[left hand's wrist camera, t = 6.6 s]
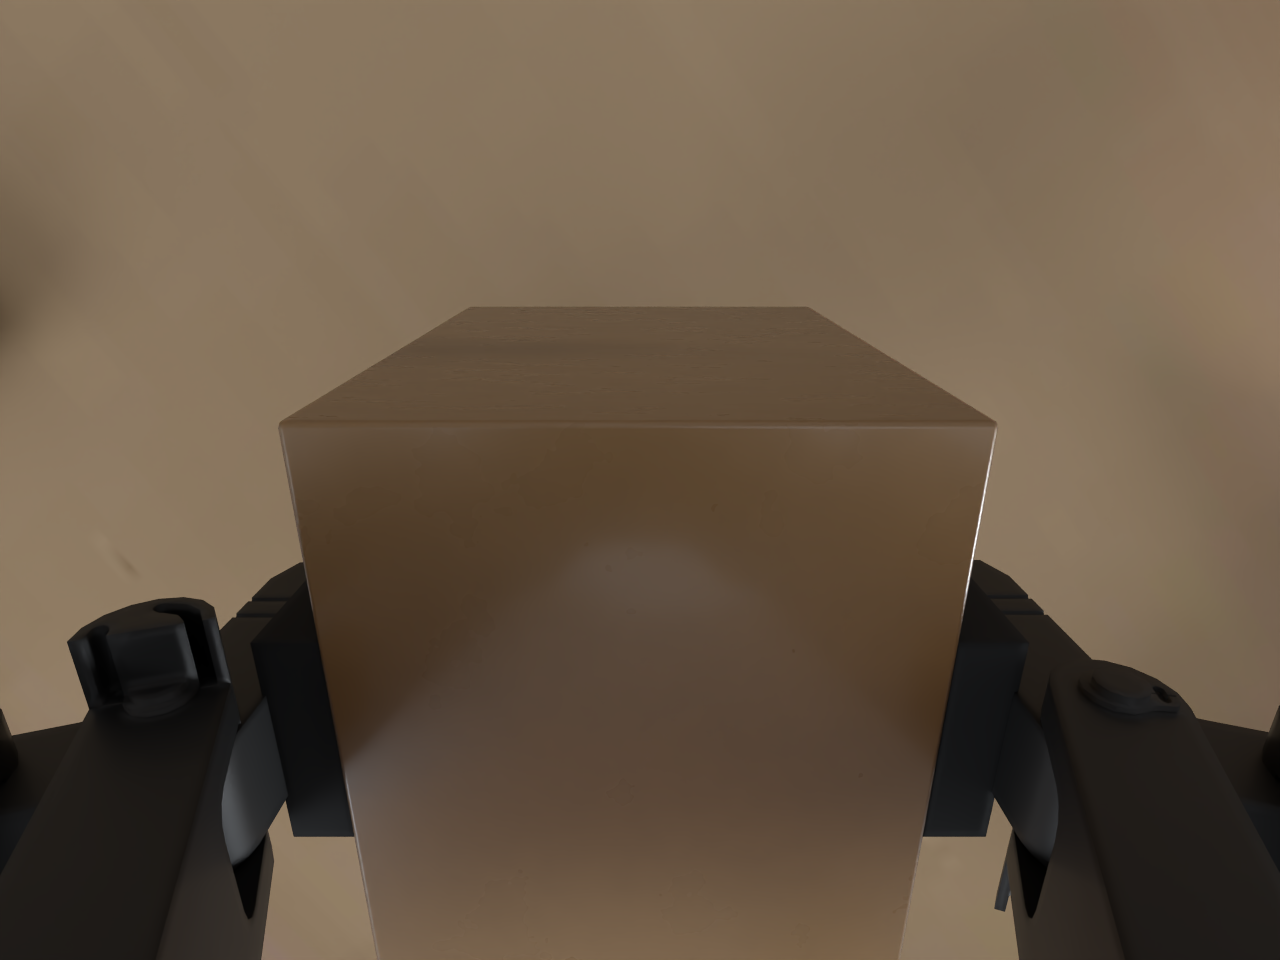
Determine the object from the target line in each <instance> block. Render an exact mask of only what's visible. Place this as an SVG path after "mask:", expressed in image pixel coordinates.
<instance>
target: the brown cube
mask: <svg viewBox="0 0 1280 960" xmlns="http://www.w3.org/2000/svg"><path fill="white" fill-rule="evenodd" d="M278 429H279V434H280V439H281V445H282V450H283V456H284V461H285V466H286V472H287V477H288V482H289V488H290V493H291V498H292V504H293V509H294V515H295V520H296V525H297V531H298V536H299V541H300V547H301V552H302V558H303V563H304V568H305V574H306V579H307V584H308V590H309V595H310V600H311V606H312V611H313V617H314V622H315V627H316V633H317V638H318V643H319V649H320V654H321V660H322V665H323V670H324V676H325V681H326V686H327V692H328V697H329V702H330V708H331V713H332V719H333V724H334V729H335V735H336V740H337V745H338V751H339V756H340V761H341V767H342V772H343V778H344V783H345V788H346V794H347V799H348V804H349V810H350V815H351V821H352V826H353V831H354V837H355V842H356V847H357V853H358V858H359V863H360V869H361V874H362V880H363V885H364V890H365V896H366V901H367V906H368V912H369V917H370V922H371V928H372V933H373V939H374V944H375V949H376V955H377V960H900V956H901V951H902V945H903V940H904V934H905V929H906V924H907V918H908V913H909V907H910V902H911V896H912V891H913V886H914V880H915V875H916V869H917V864H918V858H919V853H920V848H921V842H922V837H923V831H924V826H925V821H926V815H927V810H928V804H929V799H930V793H931V788H932V783H933V777H934V772H935V766H936V761H937V755H938V750H939V745H940V739H941V734H942V728H943V723H944V717H945V712H946V707H947V701H948V696H949V690H950V685H951V679H952V674H953V669H954V663H955V658H956V652H957V647H958V642H959V636H960V631H961V625H962V620H963V614H964V609H965V604H966V598H967V593H968V587H969V582H970V576H971V571H972V566H973V560H974V555H975V549H976V544H977V538H978V533H979V528H980V522H981V517H982V511H983V506H984V500H985V495H986V490H987V484H988V479H989V473H990V468H991V463H992V457H993V452H994V446H995V441H996V435H997V430H998V427H997V422H996V421H994V420H992V419H991V418H989V417H988V416H986V415H984V414H983V413H981V412H979V411H978V410H976V409H974V408H973V407H971V406H970V405H968V404H966V403H965V402H963V401H961V400H960V399H958V398H956V397H955V396H953V395H951V394H950V393H948V392H947V391H945V390H943V389H942V388H940V387H938V386H937V385H935V384H933V383H932V382H930V381H929V380H927V379H925V378H924V377H922V376H920V375H919V374H917V373H915V372H914V371H912V370H911V369H909V368H907V367H906V366H904V365H902V364H901V363H899V362H897V361H896V360H894V359H893V358H891V357H889V356H888V355H886V354H884V353H883V352H881V351H879V350H878V349H876V348H875V347H873V346H871V345H870V344H868V343H866V342H865V341H863V340H861V339H860V338H858V337H857V336H855V335H853V334H852V333H850V332H848V331H847V330H845V329H843V328H842V327H840V326H839V325H837V324H835V323H834V322H832V321H830V320H829V319H827V318H825V317H824V316H822V315H820V314H819V313H817V312H816V311H814V310H812V309H811V308H809V307H469V308H468V309H466V310H464V311H463V312H461V313H459V314H458V315H456V316H454V317H453V318H451V319H449V320H448V321H446V322H444V323H443V324H441V325H439V326H438V327H436V328H434V329H433V330H431V331H429V332H428V333H426V334H424V335H423V336H421V337H420V338H418V339H416V340H415V341H413V342H411V343H410V344H408V345H406V346H405V347H403V348H401V349H400V350H398V351H396V352H395V353H393V354H391V355H390V356H388V357H386V358H385V359H383V360H381V361H380V362H378V363H377V364H375V365H373V366H372V367H370V368H368V369H367V370H365V371H363V372H362V373H360V374H358V375H357V376H355V377H353V378H352V379H350V380H348V381H347V382H345V383H343V384H342V385H340V386H338V387H337V388H335V389H334V390H332V391H330V392H329V393H327V394H325V395H324V396H322V397H320V398H319V399H317V400H315V401H314V402H312V403H310V404H309V405H307V406H305V407H304V408H302V409H300V410H299V411H297V412H295V413H294V414H292V415H291V416H289V417H287V418H286V419H284V420H282V421H281V422H280V423H279V428H278Z"/></svg>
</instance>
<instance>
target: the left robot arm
mask: <svg viewBox="0 0 1280 960" xmlns="http://www.w3.org/2000/svg"><path fill="white" fill-rule="evenodd" d="M1043 612H1044V611H1043V610H1042V609H1041V608H1040V607H1039V606H1038V605H1037V604H1036V603H1035V602H1034V601H1033V600H1032V599H1028V595H1027V594H1026V593H1025V592H1024V591H1023V590H1022V589H1021V588H1020V587H1019V586H1018V585H1017V584H1016V583H1015V581H1014V580H1013V579H1012V578H1011V577H1010V576H1008V575H1006V574H1004V573H1003V572H1001V571H999V570H997V569H995V568H993V567H992V566H990V565H988V564H986V563H984V562H982V561H981V560H973V566H972V571H971V576H970V582H969V587H968V593H967V598H966V604H965V609H964V614H963V620H962V625H961V631H960V636H959V642H958V647H957V652H956V658H955V663H954V669H953V674H952V679H951V685H950V690H949V696H948V701H947V707H946V712H945V717H944V723H943V728H942V734H941V739H940V745H939V750H938V755H937V761H936V766H935V772H934V777H933V783H932V788H931V793H930V799H929V804H928V810H927V815H926V821H925V826H924V831H923V837H986V833H987V828H988V824H989V820H990V815H991V811H992V806H993V802H994V797H995V799H996V800H997V802H998V804H999V805H1000V807H1001V809H1002V811H1003V812H1004V814H1005V816H1006V817H1007V819H1008V821H1009V822H1010V824H1011V826H1012V827H1013V829H1012V833H1011V837H1010V841H1009V845H1008V849H1007V853H1006V858H1005V862H1004V866H1003V870H1002V874H1001V878H1000V882H999V887H998V891H997V896H996V902H995V908H994V909H997V910H1001V911H1004V912H1005V909H1006V905H1007V901H1008V897H1009V896H1010V895H1011V901H1012V909H1013V916H1014V924H1015V931H1016V939H1017V946H1018V954H1019V960H1280V706H1279V707H1278V710H1277V713H1276V715H1275V718H1274V720H1273V723H1272V726H1271V728H1270V731H1269V732H1264V731H1259V730H1254V729H1249V728H1243V727H1238V726H1233V725H1228V724H1223V723H1217V722H1212V721H1207V720H1202V719H1198V718H1196V717H1195V715H1194V713H1193V711H1192V709H1191V708H1190V707H1189V706H1188V704H1187V703H1186V702H1185V701H1184V700H1183V699H1182V697H1181V696H1180V695H1179V694H1178V693H1177V692H1175V691H1174V690H1172V689H1171V688H1169V687H1168V686H1166V685H1165V684H1163V683H1162V682H1160V681H1159V680H1158V679H1156V678H1153V677H1151V676H1149V675H1147V674H1144V673H1142V672H1140V671H1137V670H1135V669H1133V668H1130V667H1127V666H1123V665H1119V664H1115V663H1111V662H1108V661H1102V660H1092V659H1091V658H1090V657H1089V656H1088V655H1087V654H1086V653H1085V652H1084V651H1083V650H1082V649H1081V648H1080V647H1079V646H1078V645H1077V644H1076V643H1075V642H1074V641H1073V640H1072V639H1071V638H1070V637H1069V636H1068V635H1067V634H1066V633H1065V632H1064V631H1063V630H1062V629H1061V628H1060V627H1059V626H1058V625H1057V624H1056V623H1055V622H1054V621H1053V620H1052V619H1051V618H1050V617H1049V616H1048V615H1044V613H1043ZM67 644H68V647H69V650H70V653H71V656H72V659H73V662H74V665H75V668H76V671H77V674H78V677H79V680H80V683H81V686H82V689H83V692H84V695H85V698H86V701H87V704H88V707H89V711H88V713H87V715H86V716H85V718H84V720H83V722H80V723H75V724H70V725H65V726H59V727H54V728H49V729H44V730H39V731H34V732H28V733H23V734H18V735H13V736H12V735H11V733H10V730H9V728H8V725H7V722H6V720H5V717H4V715H3V712H2V709H0V960H261V956H262V949H263V941H264V933H265V926H266V918H267V911H268V903H269V895H270V888H271V880H272V873H273V865H274V858H273V851H272V845H271V841H270V837H269V833H268V829H269V827H270V825H271V824H272V822H273V820H274V819H275V817H276V815H277V814H278V812H279V810H280V808H281V807H282V805H283V803H284V802H285V800H286V804H287V809H288V813H289V817H290V822H291V826H292V831H293V835H294V837H354V831H353V826H352V821H351V815H350V810H349V804H348V799H347V794H346V788H345V783H344V778H343V772H342V767H341V761H340V756H339V751H338V745H337V740H336V735H335V729H334V724H333V719H332V713H331V708H330V702H329V697H328V692H327V686H326V681H325V676H324V670H323V665H322V660H321V654H320V649H319V643H318V638H317V633H316V627H315V622H314V617H313V611H312V606H311V600H310V595H309V590H308V584H307V579H306V574H305V568H304V563H303V562H300V563H298V564H296V565H295V566H293V567H291V568H289V569H287V570H286V571H284V572H282V573H280V574H278V575H277V576H275V577H273V578H271V579H270V580H269V581H268V582H267V583H266V584H265V585H264V586H263V587H262V588H261V589H260V590H259V591H258V592H257V593H256V594H255V595H254V596H253V597H252V601H248V602H247V603H246V604H245V605H244V606H243V607H242V608H241V609H240V610H239V611H238V612H237V616H236V618H232V619H231V620H230V621H229V622H228V623H227V624H226V625H225V626H224V627H223V628H222V629H221V630H219V626H218V622H217V618H216V614H215V609H214V607H213V606H211V605H210V604H208V603H207V602H205V601H204V600H199V599H192V598H186V597H180V598H166V599H156V600H152V601H148V602H143V603H139V604H134V605H130V606H128V607H125V608H122V609H120V610H117V611H114V612H111V613H109V614H106V615H104V616H102V617H100V618H98V619H97V620H95V621H93V622H91V623H89V624H88V625H86V626H84V627H82V628H81V629H80V630H79V631H78V632H77V633H76V634H75V635H74V636H73V637H72V638H71V639H70V640H68V641H67Z"/></svg>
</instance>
